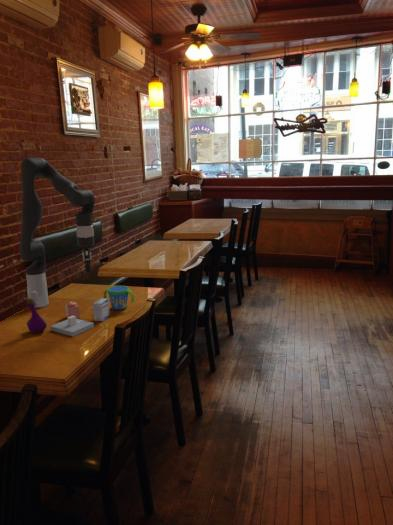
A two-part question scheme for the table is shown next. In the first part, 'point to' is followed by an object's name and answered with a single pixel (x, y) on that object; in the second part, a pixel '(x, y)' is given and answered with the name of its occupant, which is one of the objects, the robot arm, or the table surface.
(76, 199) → the robot arm
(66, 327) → the panel
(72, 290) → the table surface
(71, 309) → the knob
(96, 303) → the medicine box
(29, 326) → the perfume bottle
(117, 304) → the snack cup
